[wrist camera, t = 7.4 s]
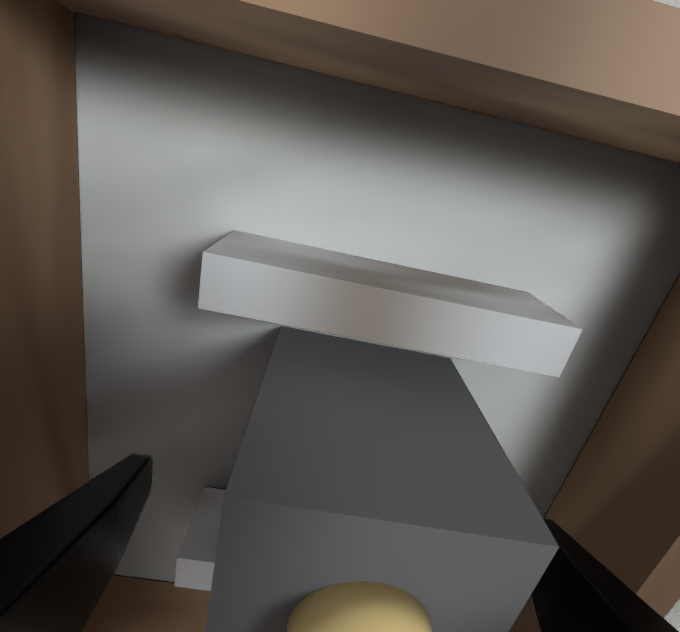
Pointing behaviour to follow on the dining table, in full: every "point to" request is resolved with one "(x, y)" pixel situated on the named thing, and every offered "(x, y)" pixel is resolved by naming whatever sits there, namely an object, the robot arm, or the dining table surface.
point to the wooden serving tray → (342, 269)
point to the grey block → (371, 501)
